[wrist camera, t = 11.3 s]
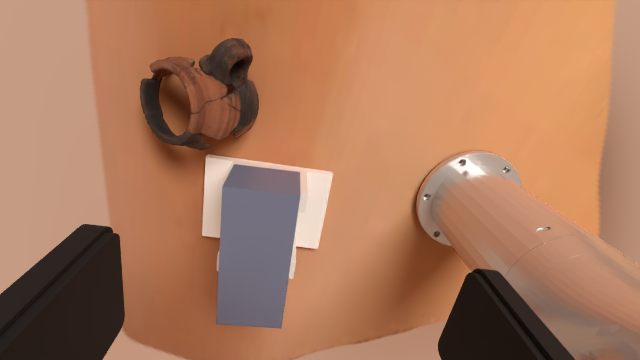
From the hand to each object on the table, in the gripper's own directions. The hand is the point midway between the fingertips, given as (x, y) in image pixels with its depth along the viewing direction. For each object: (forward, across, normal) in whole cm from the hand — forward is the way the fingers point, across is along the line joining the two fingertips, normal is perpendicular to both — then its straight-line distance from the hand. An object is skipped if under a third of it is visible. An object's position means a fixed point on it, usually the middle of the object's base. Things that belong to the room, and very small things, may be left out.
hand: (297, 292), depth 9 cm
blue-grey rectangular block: (+21, +2, +12) cm, 24 cm away
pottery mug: (+29, +8, 0) cm, 30 cm away
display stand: (+28, +2, +12) cm, 31 cm away
